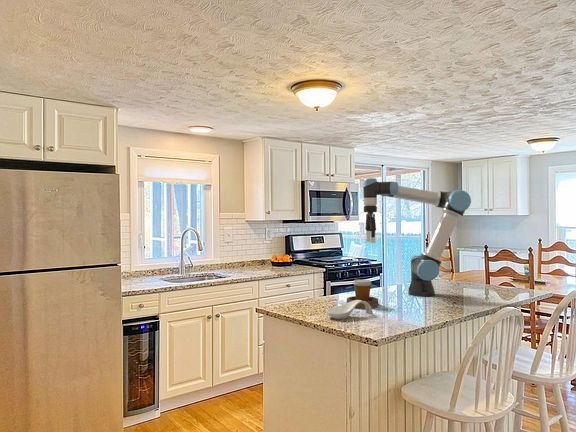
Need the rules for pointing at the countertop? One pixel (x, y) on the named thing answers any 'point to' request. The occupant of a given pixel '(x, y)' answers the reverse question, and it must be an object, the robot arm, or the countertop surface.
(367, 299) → the disposable coffee cup
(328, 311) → the spoon rest
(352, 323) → the countertop surface
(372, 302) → the brown round dish
